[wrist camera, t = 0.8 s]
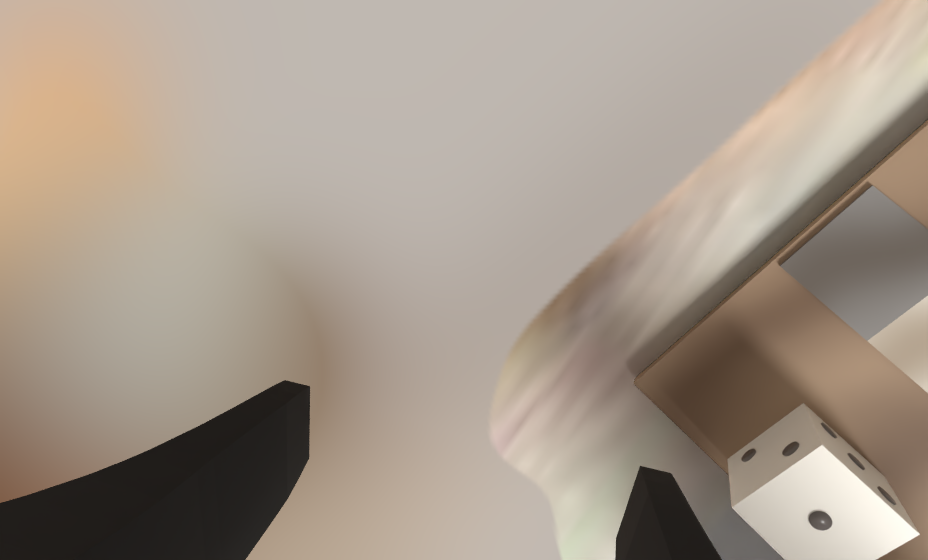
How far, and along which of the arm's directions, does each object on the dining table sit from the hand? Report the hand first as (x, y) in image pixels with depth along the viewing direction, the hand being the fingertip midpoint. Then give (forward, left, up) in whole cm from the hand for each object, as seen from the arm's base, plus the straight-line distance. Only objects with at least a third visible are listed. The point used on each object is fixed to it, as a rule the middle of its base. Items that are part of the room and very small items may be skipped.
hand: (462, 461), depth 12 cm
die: (-11, -1, -15) cm, 19 cm away
